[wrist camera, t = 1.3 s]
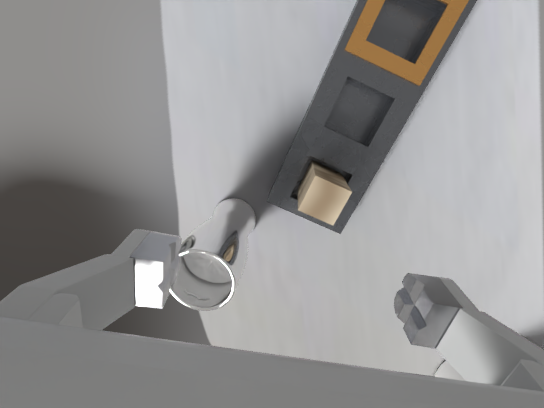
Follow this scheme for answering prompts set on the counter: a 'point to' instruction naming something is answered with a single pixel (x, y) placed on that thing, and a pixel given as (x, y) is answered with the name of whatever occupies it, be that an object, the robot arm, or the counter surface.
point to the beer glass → (214, 257)
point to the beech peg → (322, 193)
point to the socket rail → (368, 94)
